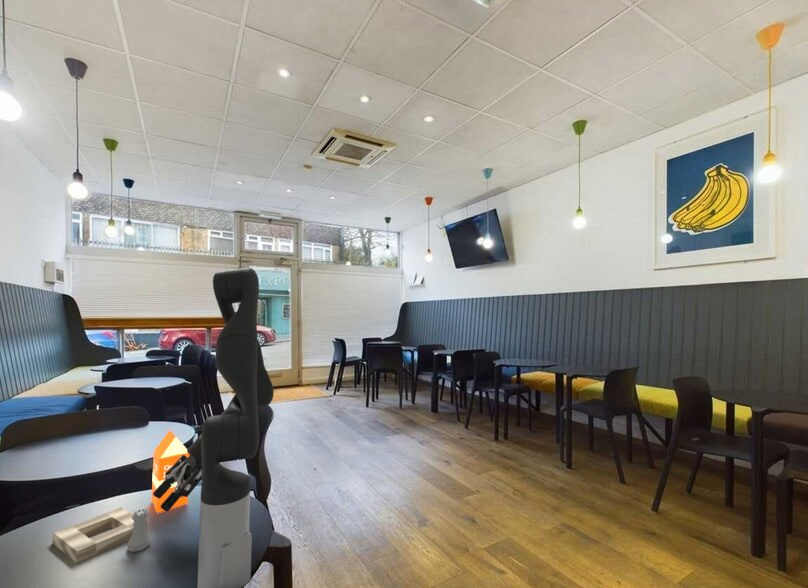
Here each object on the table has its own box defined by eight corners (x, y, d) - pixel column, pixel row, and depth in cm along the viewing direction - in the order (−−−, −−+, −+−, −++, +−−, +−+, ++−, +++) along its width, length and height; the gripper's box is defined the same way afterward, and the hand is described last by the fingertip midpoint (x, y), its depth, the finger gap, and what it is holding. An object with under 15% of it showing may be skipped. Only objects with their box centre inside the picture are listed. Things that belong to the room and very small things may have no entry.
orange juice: (156, 513, 104) (159, 439, 105) (150, 502, 110) (153, 431, 112) (188, 504, 109) (191, 433, 110) (181, 493, 116) (184, 426, 117)
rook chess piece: (138, 554, 86) (139, 517, 87) (121, 551, 87) (123, 515, 87) (154, 542, 90) (156, 507, 91) (139, 540, 91) (140, 506, 92)
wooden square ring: (146, 532, 95) (147, 522, 95) (76, 563, 83) (76, 551, 83) (120, 517, 102) (121, 507, 102) (52, 543, 90) (53, 532, 90)
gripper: (193, 429, 104) (141, 485, 95) (209, 442, 94) (153, 506, 85) (213, 445, 107) (164, 500, 99) (231, 458, 97) (178, 521, 88)
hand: (159, 502), depth 92 cm, fingers open, 8 cm apart
